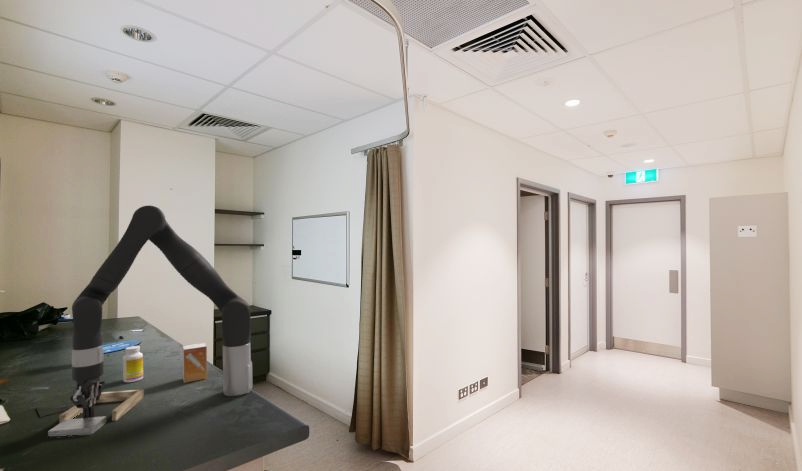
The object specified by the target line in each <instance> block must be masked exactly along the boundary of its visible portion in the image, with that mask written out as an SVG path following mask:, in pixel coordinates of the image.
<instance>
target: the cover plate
mask: <svg viewBox="0 0 802 471" xmlns="http://www.w3.org/2000/svg"><path fill="white" fill-rule="evenodd" d="M106 423H107V416H106V415H105V416H104V415H103V416H94V417H90V418H83V417H81V418H80V417H79V418H74V419H67V420H64V421H63V422H61V423H60V424H59V423H58V424H56V425H55V426H54V427H52V428H51V429H49V430H48V431H47V437H48V436H66V435H71V436H70V437H73V436H72V435H79V436H88V435H89V436H90V435H94V433H95V432H97V431H98V430H99V429H100V428H102V427H103V426H104V425H105V424H106Z"/></svg>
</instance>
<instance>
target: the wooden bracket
mask: <svg viewBox="0 0 802 471" xmlns="http://www.w3.org/2000/svg"><path fill="white" fill-rule="evenodd" d="M144 395H145V394H144V388H143V389H141V388H140V389H129V390H116V391H104V392H103V391H102V392H101V395H100V398H99V400H97V401H96V404H101V403H113V402H121V404H119V405H118V406H117V407H115V408H114V409H113V410H112V411H111V422H115V421H118V420H120V419H121V418H122V416H124V415H125V414H126V413H127V412H129V411H130V410H131V409H132V408H134V407H135V406H136V405H137V404H138V403H140V402H141V401H142V400H143V399H144V398H145V396H144ZM80 413H81V414H83V408H77V407H76V406H75V405H74V406H71V407H70V408H69V410H67V411H64V412H62V413H61V414H59V415H58V418H59V420H58V421H59V422H58V424H60V423H61V422H63V421H64V420H67V419H73V418H74V417H75V418H77V417H78V416H79V415H81V414H80ZM77 415H78V416H77ZM76 416H77V417H76ZM75 418H74V419H75Z"/></svg>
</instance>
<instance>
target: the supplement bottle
mask: <svg viewBox="0 0 802 471" xmlns="http://www.w3.org/2000/svg"><path fill="white" fill-rule="evenodd" d="M140 350H141V347H140V345H132V346H127V347H126V348H125V353H126V354H124V355H123V357H122V381H123V382H124V383H134V382H139V381H140V380H142V379H144V355H143V352H140Z"/></svg>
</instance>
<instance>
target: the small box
mask: <svg viewBox="0 0 802 471" xmlns="http://www.w3.org/2000/svg"><path fill="white" fill-rule="evenodd" d="M207 350H208V348H207V345H206V343H205V342H200V343H194V344H187V345H182V380H183V383H184V384H185V383H189V382H190V383H191V382H197V381H201V380H202V379H203V380H207V379H208V362H207V361H208V360H207V359H208V358H207V357H208V355H207V354H208V353H207V352H208V351H207Z"/></svg>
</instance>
